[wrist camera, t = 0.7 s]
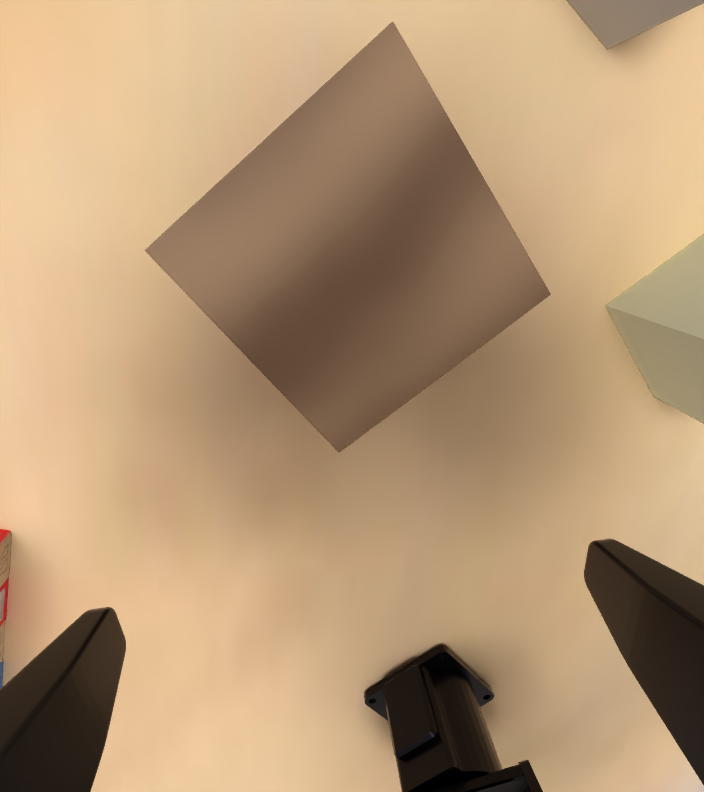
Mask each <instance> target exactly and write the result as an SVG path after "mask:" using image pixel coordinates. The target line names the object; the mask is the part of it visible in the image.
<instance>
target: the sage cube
mask: <svg viewBox="0 0 704 792" xmlns="http://www.w3.org/2000/svg"><path fill="white" fill-rule="evenodd" d="M605 306H606V308H607V310H608V312H609V314H610V316H611V318H612V319H613V321H614V323H615V325H616V327H617V329H618V331H619V333H620V335H621V336H622V338H623V340H624V342H625V344H626V346H627V348H628V350H629V352H630V354H631V355H632V357H633V359H634V361H635V363H636V365H637V367H638V369H639V371H640V372H641V374H642V376H643V378H644V380H645V382H646V384H647V386H648V388H649V389H650V391H651V393H652V395H653V396H654V397H656V398H657V399H659V400H661V401H663V402H665V403H667V404H668V405H670V406H672V407H674V408H676V409H678V410H679V411H681V412H683V413H685V414H687V415H689V416H690V417H692V418H694V419H696V420H698V421H699V422H701V423H703V424H704V234H703V235H702V236H700V237H699V238H698V239H696V240H695V241H693V242H692V243H691V244H689V245H688V246H687V247H685V248H684V249H682V250H681V251H680V252H678V253H677V254H676V255H674V256H673V257H671V258H670V259H669V260H667V261H666V262H664V263H663V264H662V265H660V266H659V267H658V268H656V269H655V270H653V271H652V272H651V273H649V274H648V275H647V276H645V277H644V278H642V279H641V280H640V281H638V282H637V283H636V284H634V285H633V286H631V287H630V288H629V289H627V290H626V291H625V292H623V293H622V294H620V295H619V296H618V297H616V298H615V299H614V300H612V301H611V302H609V303H608V304H607V305H605Z"/></svg>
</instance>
